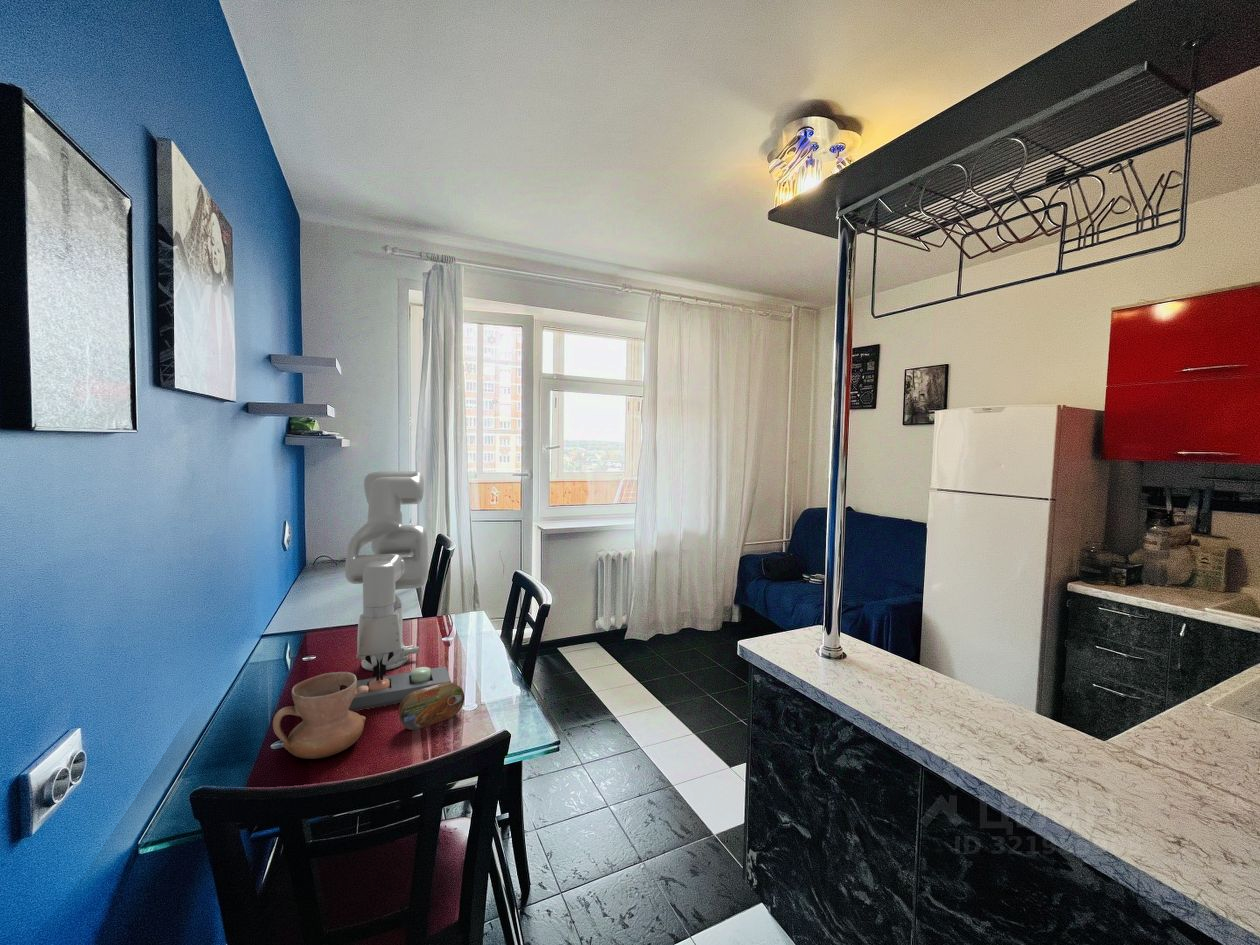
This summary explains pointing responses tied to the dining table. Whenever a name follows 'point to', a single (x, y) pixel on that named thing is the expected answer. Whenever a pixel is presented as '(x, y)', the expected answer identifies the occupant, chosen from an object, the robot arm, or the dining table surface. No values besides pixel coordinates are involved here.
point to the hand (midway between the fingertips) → (379, 677)
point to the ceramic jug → (322, 716)
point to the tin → (431, 705)
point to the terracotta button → (379, 684)
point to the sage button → (420, 675)
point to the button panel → (395, 689)
